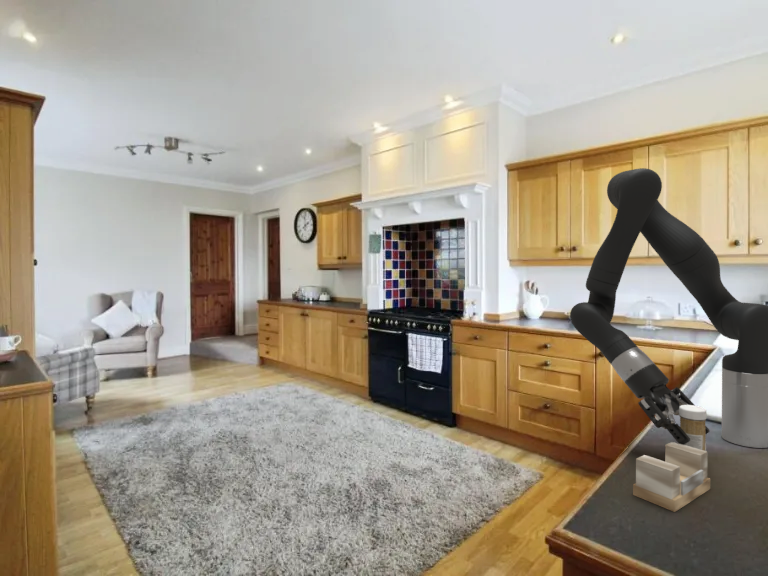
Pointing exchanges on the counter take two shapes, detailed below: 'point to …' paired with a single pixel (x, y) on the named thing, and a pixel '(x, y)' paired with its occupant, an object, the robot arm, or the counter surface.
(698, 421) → the sprinkles bottle
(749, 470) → the counter surface
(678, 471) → the napkin holder
